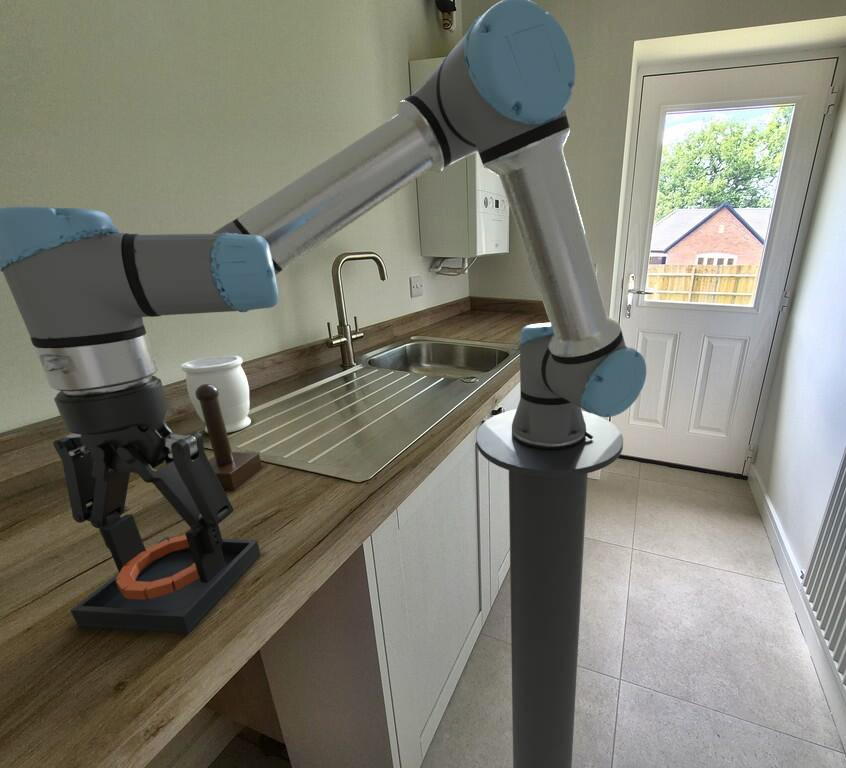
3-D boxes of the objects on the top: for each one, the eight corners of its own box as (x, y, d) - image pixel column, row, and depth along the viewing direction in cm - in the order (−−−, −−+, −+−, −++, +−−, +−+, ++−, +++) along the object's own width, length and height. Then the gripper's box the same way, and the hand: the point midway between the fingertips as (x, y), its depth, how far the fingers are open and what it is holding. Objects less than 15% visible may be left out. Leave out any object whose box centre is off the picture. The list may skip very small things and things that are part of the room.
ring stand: (262, 467, 73) (241, 378, 67) (234, 489, 66) (208, 392, 61) (225, 466, 73) (201, 377, 68) (193, 488, 66) (164, 391, 61)
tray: (261, 555, 52) (257, 540, 51) (188, 633, 41) (182, 616, 41) (171, 550, 53) (166, 536, 52) (77, 627, 42) (69, 610, 41)
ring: (237, 542, 50) (235, 534, 50) (176, 601, 42) (173, 592, 41) (170, 539, 51) (167, 531, 50) (96, 597, 42) (92, 588, 42)
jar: (266, 417, 94) (253, 354, 90) (236, 437, 84) (219, 367, 80) (222, 417, 95) (206, 354, 90) (186, 437, 85) (166, 367, 80)
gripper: (-45, 395, 36) (50, 593, 44) (181, 398, 35) (241, 603, 42) (51, 370, 43) (119, 545, 51) (242, 372, 42) (284, 551, 49)
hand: (174, 571), depth 46 cm, fingers closed on ring, 9 cm apart
